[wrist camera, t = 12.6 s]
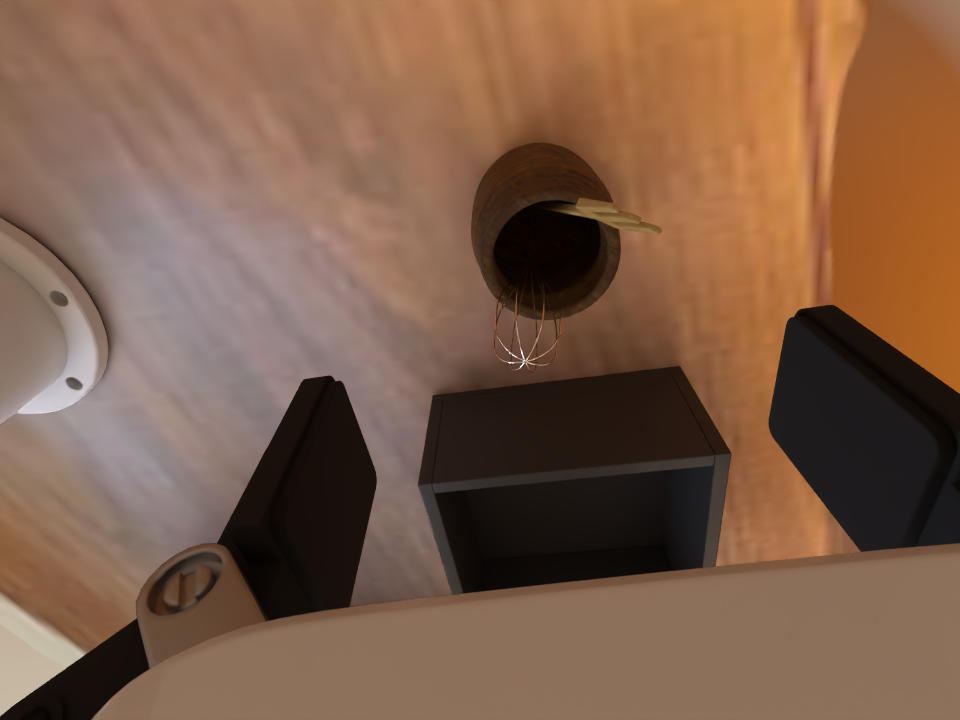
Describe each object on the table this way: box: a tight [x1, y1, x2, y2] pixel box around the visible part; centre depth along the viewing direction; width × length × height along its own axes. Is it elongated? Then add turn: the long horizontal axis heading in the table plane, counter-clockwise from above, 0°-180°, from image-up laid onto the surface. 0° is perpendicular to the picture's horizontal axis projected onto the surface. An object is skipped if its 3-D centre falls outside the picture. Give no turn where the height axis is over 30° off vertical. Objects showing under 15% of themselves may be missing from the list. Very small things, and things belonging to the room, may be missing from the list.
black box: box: [418, 366, 731, 595], centre depth 30 cm, size 15×14×7 cm
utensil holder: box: [471, 143, 662, 373], centre depth 19 cm, size 6×6×12 cm
